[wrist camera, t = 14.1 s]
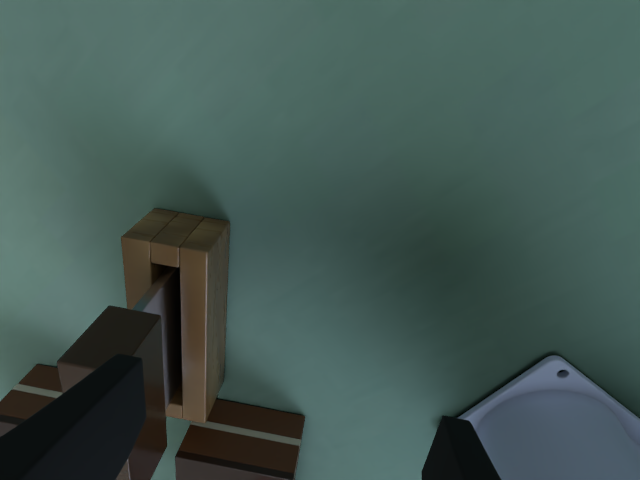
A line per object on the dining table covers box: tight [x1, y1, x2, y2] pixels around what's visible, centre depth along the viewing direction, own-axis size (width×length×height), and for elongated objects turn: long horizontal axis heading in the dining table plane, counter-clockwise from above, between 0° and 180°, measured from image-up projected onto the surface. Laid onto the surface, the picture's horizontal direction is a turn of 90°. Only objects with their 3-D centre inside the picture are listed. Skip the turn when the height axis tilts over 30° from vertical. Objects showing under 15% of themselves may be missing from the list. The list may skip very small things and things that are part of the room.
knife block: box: [121, 208, 230, 423], centre depth 21 cm, size 4×10×3 cm, turn 173°
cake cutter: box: [57, 266, 182, 480], centre depth 19 cm, size 2×7×8 cm, turn 172°
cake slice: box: [0, 364, 63, 437], centre depth 26 cm, size 4×8×5 cm, turn 172°
